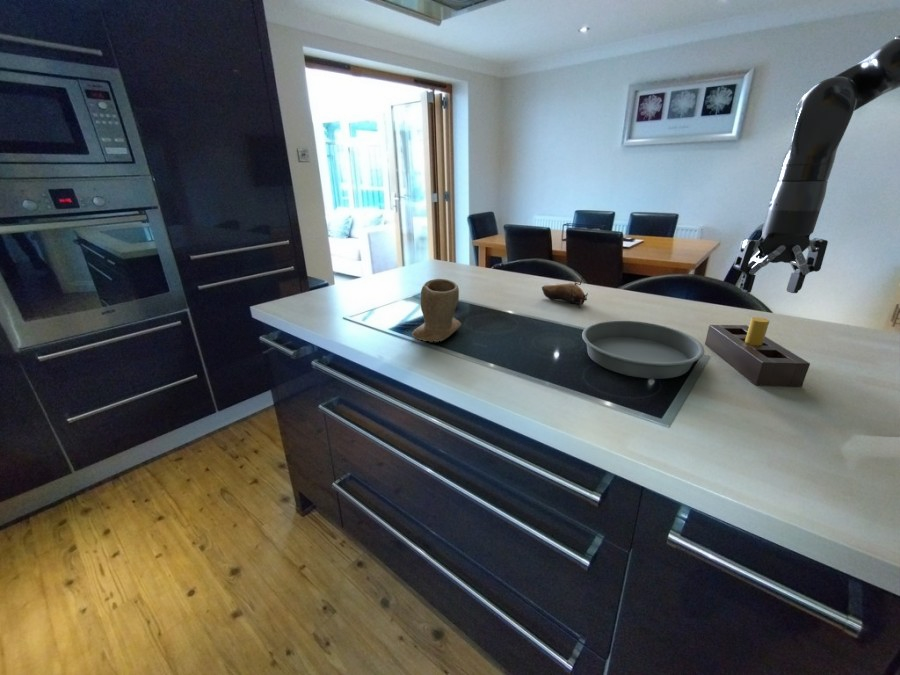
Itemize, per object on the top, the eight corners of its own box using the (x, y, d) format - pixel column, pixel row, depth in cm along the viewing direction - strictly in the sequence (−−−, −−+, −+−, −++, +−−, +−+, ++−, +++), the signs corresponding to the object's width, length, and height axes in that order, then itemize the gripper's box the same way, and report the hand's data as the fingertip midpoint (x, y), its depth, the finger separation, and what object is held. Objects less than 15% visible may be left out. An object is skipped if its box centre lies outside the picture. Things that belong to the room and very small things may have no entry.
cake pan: (656, 396, 73) (660, 375, 71) (557, 351, 92) (559, 334, 90) (723, 362, 84) (728, 343, 83) (623, 329, 104) (625, 313, 102)
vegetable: (530, 294, 126) (539, 265, 125) (541, 302, 135) (550, 275, 135) (578, 305, 117) (588, 274, 117) (586, 313, 126) (596, 283, 126)
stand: (741, 344, 93) (746, 325, 91) (802, 386, 74) (810, 363, 72) (704, 344, 94) (709, 324, 92) (755, 385, 75) (762, 362, 73)
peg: (750, 360, 85) (763, 317, 81) (759, 366, 82) (773, 322, 79) (736, 359, 86) (748, 317, 82) (744, 365, 83) (756, 322, 79)
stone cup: (446, 349, 95) (444, 290, 90) (406, 341, 101) (401, 285, 95) (472, 328, 108) (472, 275, 102) (435, 322, 113) (433, 271, 107)
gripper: (765, 209, 69) (741, 297, 75) (853, 208, 67) (821, 297, 74) (740, 206, 76) (720, 287, 82) (820, 205, 74) (794, 287, 81)
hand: (768, 292), depth 78 cm, fingers open, 8 cm apart
